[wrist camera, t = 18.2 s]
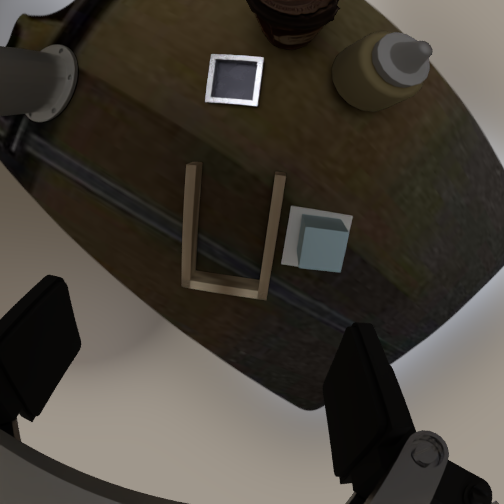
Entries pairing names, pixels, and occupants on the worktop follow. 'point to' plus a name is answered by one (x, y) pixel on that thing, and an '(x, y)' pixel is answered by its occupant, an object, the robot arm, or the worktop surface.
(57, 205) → the worktop surface
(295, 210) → the mat
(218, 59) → the tray
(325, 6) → the coffee cup
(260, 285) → the cubby
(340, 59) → the squeeze bottle
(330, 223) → the blue block
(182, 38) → the worktop surface
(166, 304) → the worktop surface
